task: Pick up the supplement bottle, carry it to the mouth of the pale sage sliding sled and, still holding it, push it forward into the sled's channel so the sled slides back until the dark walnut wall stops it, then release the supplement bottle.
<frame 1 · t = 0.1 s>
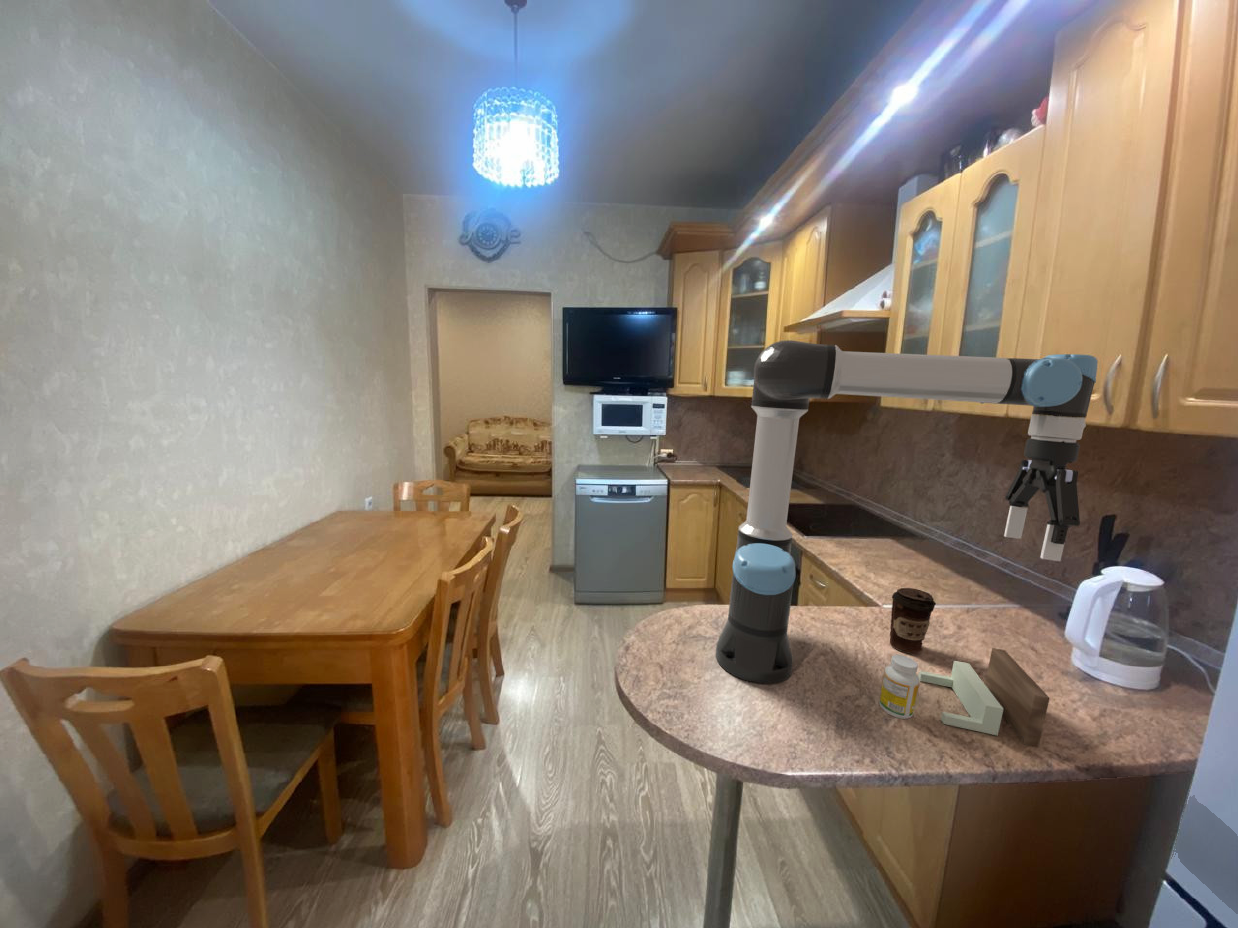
hand: (1030, 547, 93), 28 cm above the breakfast bar, fingers open, 13 cm apart
backstop wall: (1008, 716, 86), on the breakfast bar
slot block: (956, 691, 88), point 3 cm above the breakfast bar, slide at 0.0 cm
coffee cup: (905, 648, 107), on the breakfast bar
supplement bottle: (895, 710, 86), on the breakfast bar
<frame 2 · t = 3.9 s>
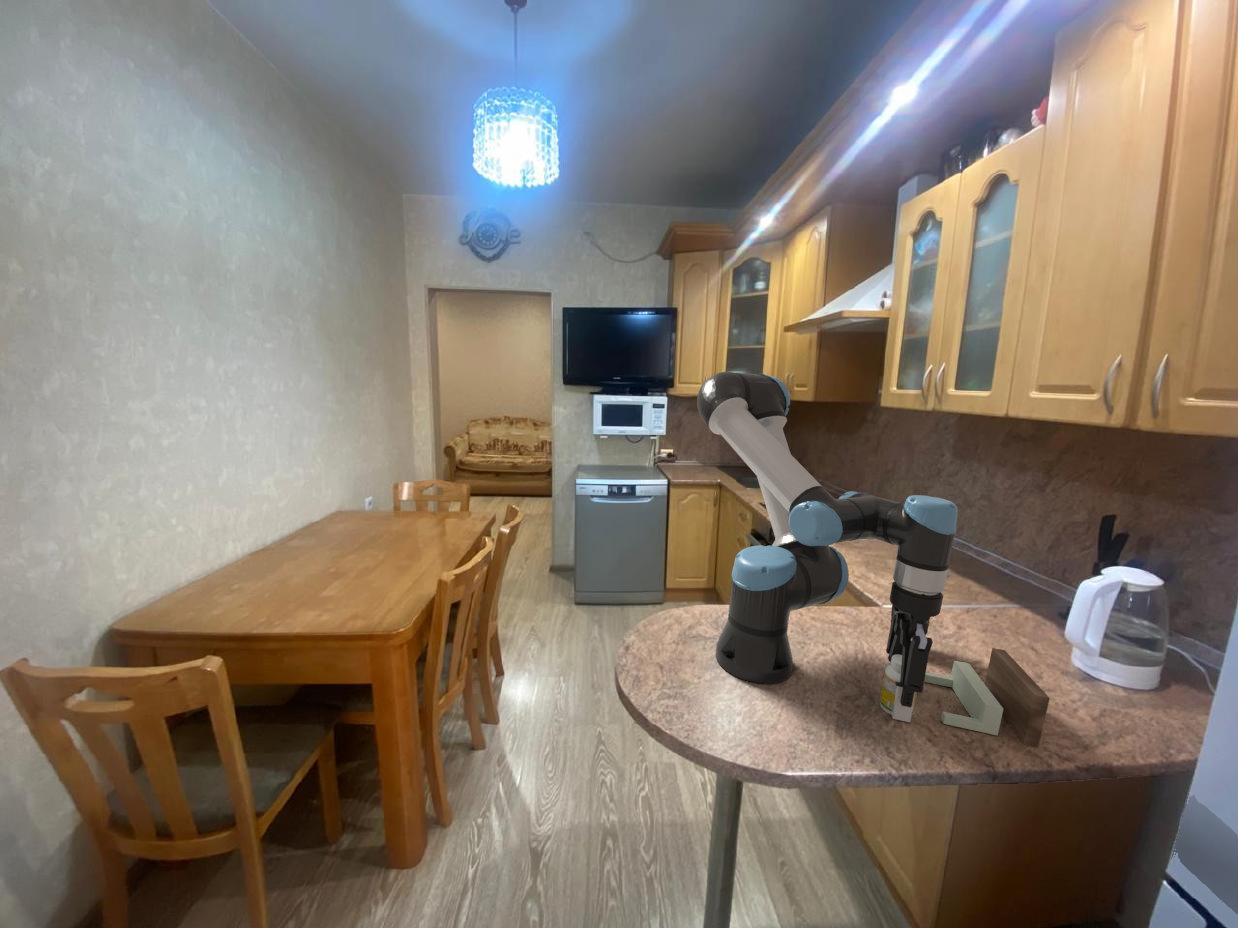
hand: (896, 707, 86), 0 cm above the breakfast bar, fingers closed on supplement bottle, 5 cm apart
supplement bottle: (895, 710, 86), on the breakfast bar, touching gripper
everything else where it was.
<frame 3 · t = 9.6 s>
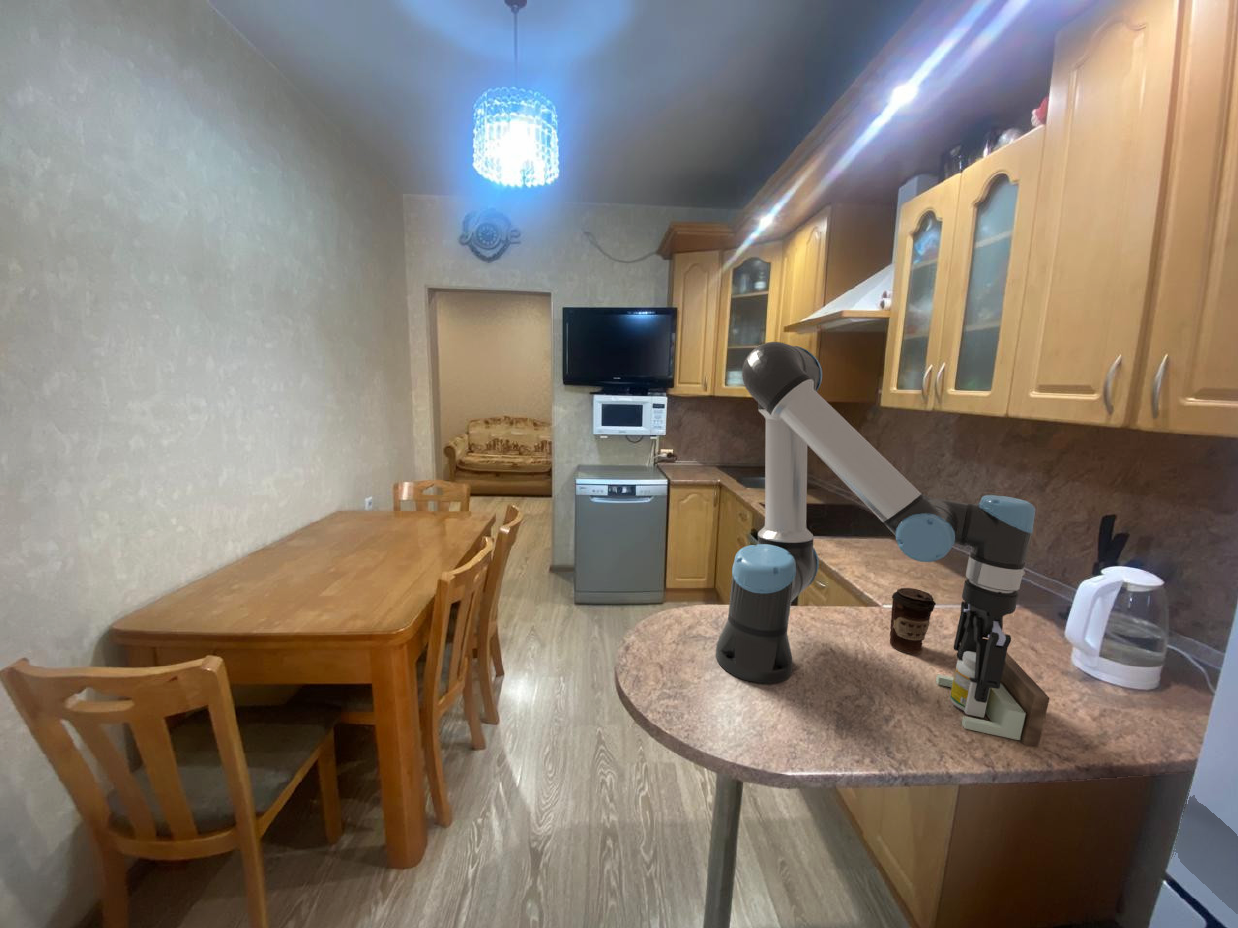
hand: (967, 703, 87), 1 cm above the breakfast bar, fingers closed on supplement bottle, 5 cm apart
slot block: (976, 695, 87), point 3 cm above the breakfast bar, slide at 3.1 cm
supplement bottle: (966, 706, 88), on the breakfast bar, touching gripper
everything else where it was.
when the fingers open (2 cm above the breakfast bar, at t = 10.6 s): supplement bottle drops 1 cm, on the breakfast bar.
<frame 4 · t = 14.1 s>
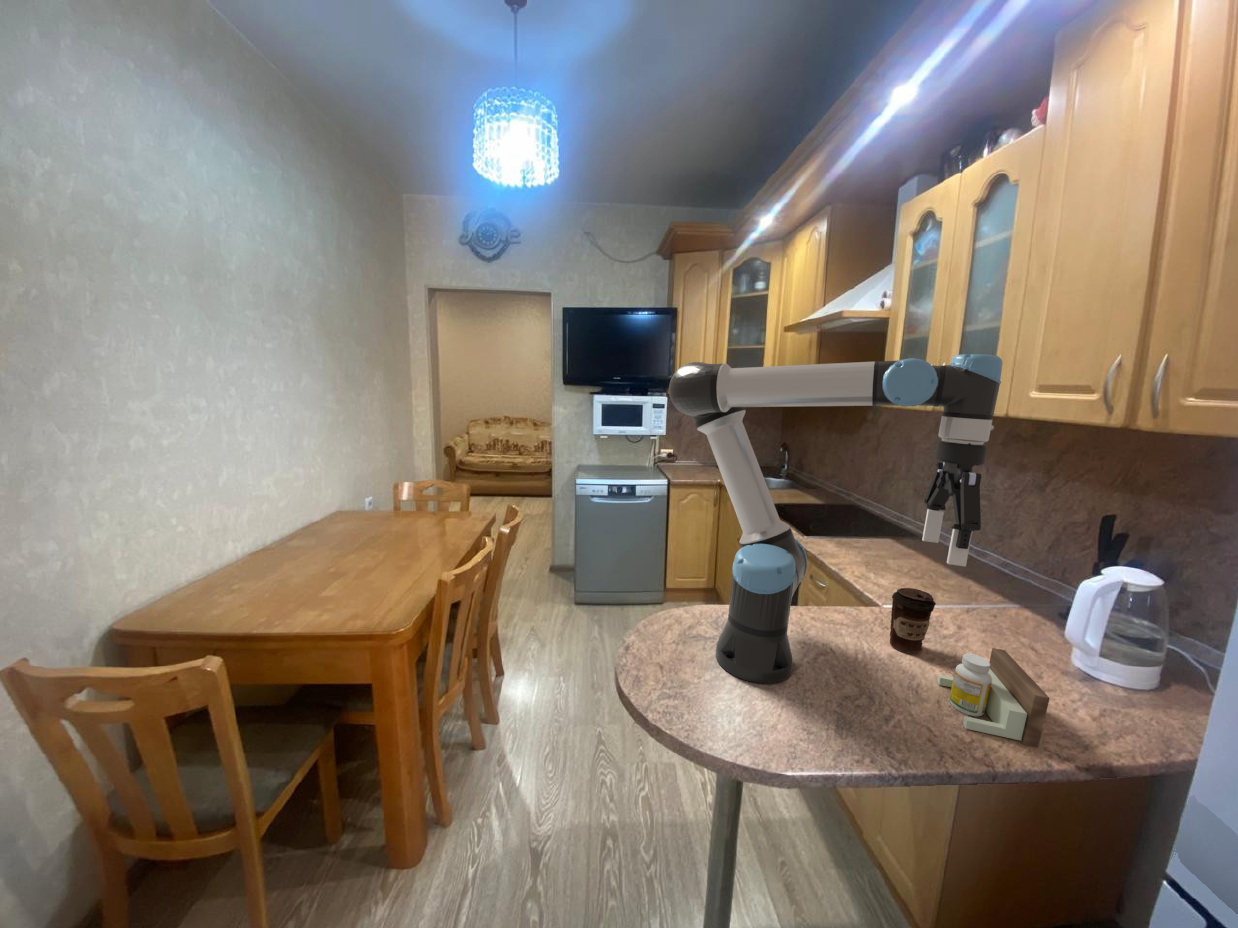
hand: (942, 552, 91), 27 cm above the breakfast bar, fingers open, 13 cm apart
supplement bottle: (966, 708, 88), on the breakfast bar
everything else where it was.
at the end: slot block slide at 3.3 cm; supplement bottle 0.1 cm from the target spot on the slot block, point 0.0 cm above the slot block's base; supplement bottle tilted 0° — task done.
